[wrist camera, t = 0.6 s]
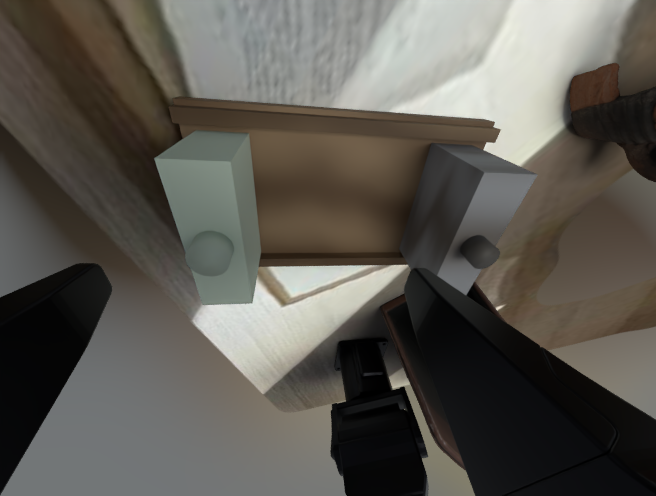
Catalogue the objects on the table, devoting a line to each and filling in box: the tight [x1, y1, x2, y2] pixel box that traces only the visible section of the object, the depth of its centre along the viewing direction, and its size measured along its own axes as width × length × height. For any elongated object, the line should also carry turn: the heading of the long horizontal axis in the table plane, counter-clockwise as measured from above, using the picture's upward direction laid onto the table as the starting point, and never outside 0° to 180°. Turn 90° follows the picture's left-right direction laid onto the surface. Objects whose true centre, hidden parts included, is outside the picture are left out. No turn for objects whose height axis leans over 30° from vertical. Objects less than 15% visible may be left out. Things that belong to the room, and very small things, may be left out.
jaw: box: [154, 130, 261, 305], centre depth 15 cm, size 9×3×7 cm, turn 175°
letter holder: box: [380, 281, 505, 470], centre depth 27 cm, size 10×20×14 cm, turn 34°
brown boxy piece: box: [169, 97, 537, 295], centre depth 16 cm, size 12×20×8 cm, turn 85°
